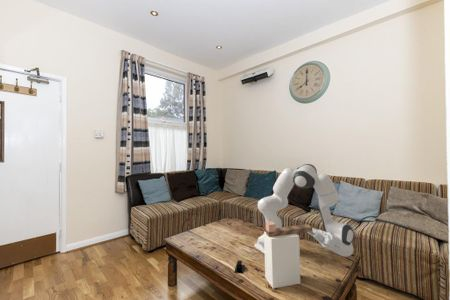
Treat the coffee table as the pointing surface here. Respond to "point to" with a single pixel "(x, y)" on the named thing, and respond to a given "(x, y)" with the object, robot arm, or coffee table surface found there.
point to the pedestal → (282, 260)
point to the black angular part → (239, 267)
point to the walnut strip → (290, 230)
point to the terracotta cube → (270, 226)
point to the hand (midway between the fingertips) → (309, 231)
